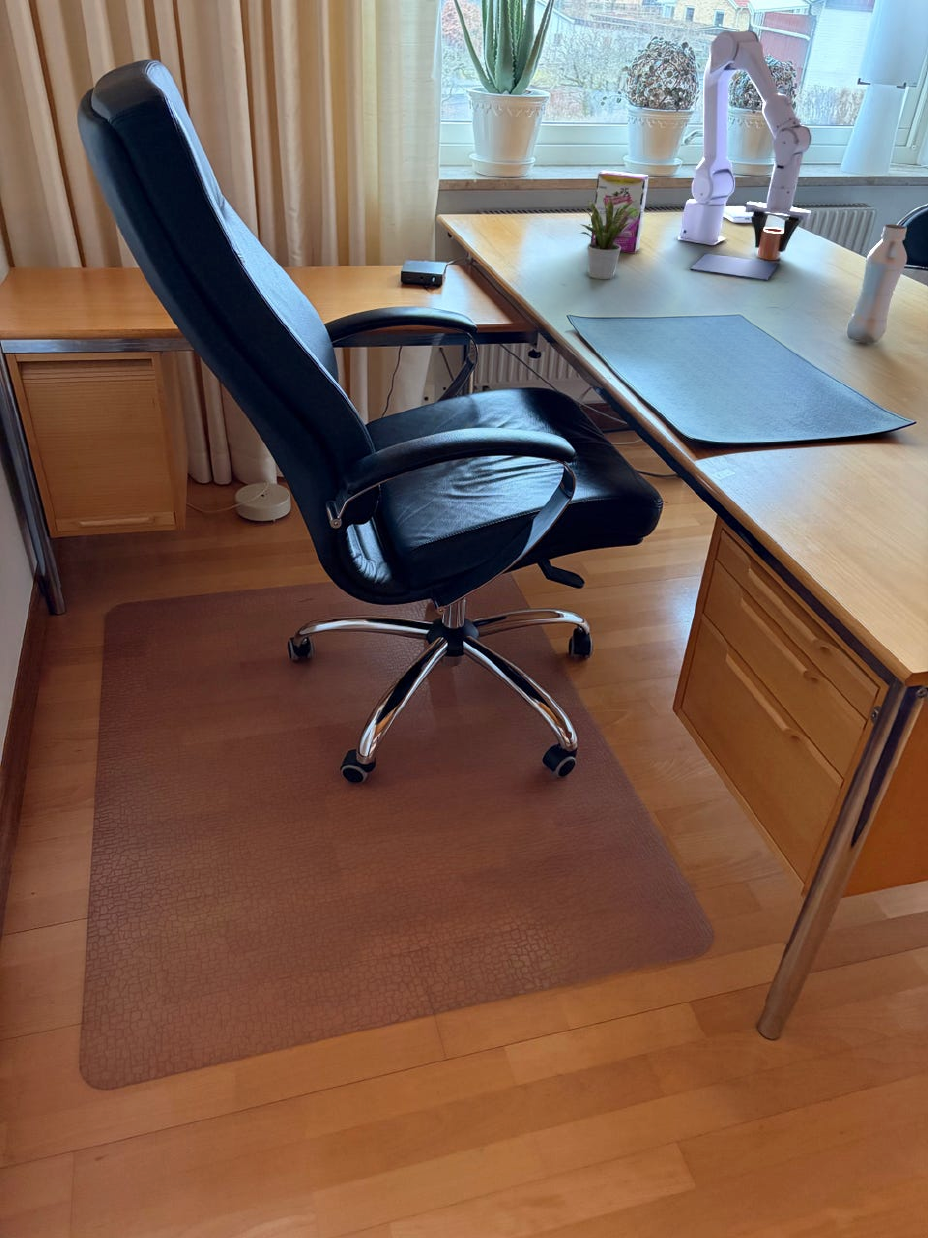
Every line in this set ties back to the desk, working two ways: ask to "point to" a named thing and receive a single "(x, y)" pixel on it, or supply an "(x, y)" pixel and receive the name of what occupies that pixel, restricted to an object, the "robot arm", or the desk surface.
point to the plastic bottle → (878, 286)
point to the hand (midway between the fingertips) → (769, 248)
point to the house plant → (605, 240)
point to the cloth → (735, 267)
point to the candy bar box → (620, 193)
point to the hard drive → (737, 214)
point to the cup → (770, 243)
